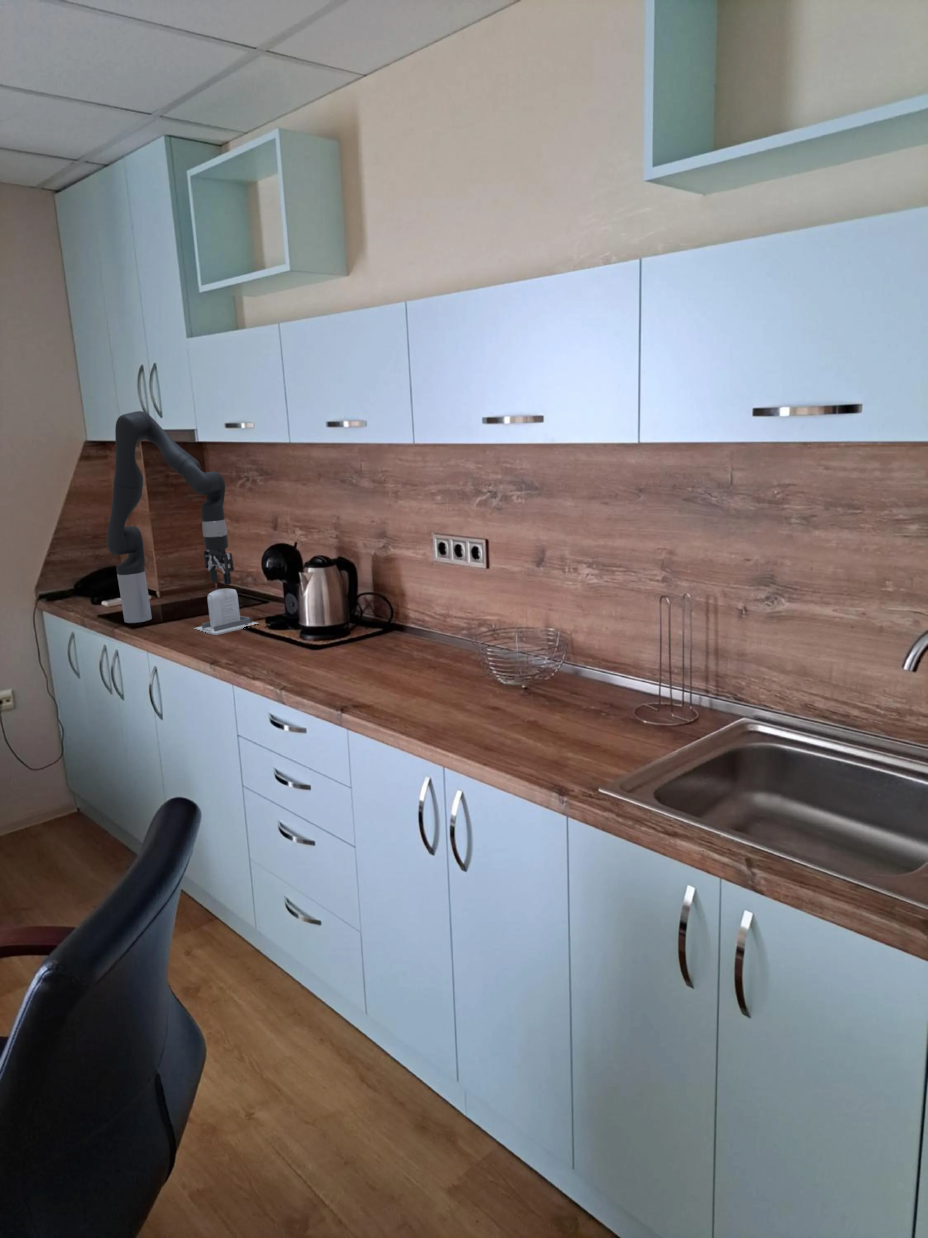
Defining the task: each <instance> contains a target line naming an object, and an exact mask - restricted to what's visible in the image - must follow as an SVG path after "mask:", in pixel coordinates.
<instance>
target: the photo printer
mask: <svg viewBox="0 0 928 1238" xmlns="http://www.w3.org/2000/svg"><path fill="white" fill-rule="evenodd" d="M206 598H207V599H206V600H207V606H208V616H209V622H210V625H211V628H214V626H218V625H223V624H227V623H231V622H235V621H240V616H241V613H240V605H239V597H238V593H237V590H236V589H234V588H225V587H224V588H219V589H216V590H213V591H211V592H210V593H208V594H207V597H206Z"/></svg>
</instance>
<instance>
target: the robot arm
mask: <svg viewBox="0 0 928 1238" xmlns="http://www.w3.org/2000/svg"><path fill="white" fill-rule="evenodd" d="M114 427H115V432H114V433H115V465H114V477H113V485H112V501H111V502H112V503H111V512H110V518H109V521H108V527H107V532H106V545H107V549H108V551H109V553H110V554H111V555H114V556H121V555H127V554H128V555H127V557H126V559H125V560H123V561H122V562H120V564H118V565H117V566H116V576H117V582H118V588H119V593H120V594H119V595H120V602H121V607H122V614H123V620H124V623H127V624H136V623H143V622H147V621H150V620H152V619H153V617H152V610H151V603H150V596H149V589H148V583H147V577H146V570H145V564H146V561H145V560H146V559H145V549H144V541H143V535H142V532H141V529H139V527H137V526H136V525H128V526H126V523H127V521H128V518H129V517H130V515H131V514H132V512H133V511H134V510H135V508H136V507H137V506H138V504H139V503H140V501H141V499H142V496H143V486H144V476H143V473H142V471H141V469H140V467H139V465H138V463H137V460H136V449H137V448H136V447H137V443H138V442H140V441H144V440H148V441H149V442H151V443H153V444H154V445H155V446H156V447H157V448H158V449H159V450H160V452H161V455H162V457H163V459H164V461H165V462H166V464H167V465H168V466H169V467H170V468H171V469H173V470H174V471H175V472H176V473H177V474H179V475H180V476H181V477H183V478H184V480H185V481H186V482H187V484H188V485H189V486H190V487H191V489H192V490H193V491H194V492H196V493H197V494H199V495H202V496H206V498H205V499H206V500H205V501H204V502H203V503H201V506H200V513H201V521H202V522H201V525H202V526H201V527H202V537H203V545H204V549H205V550H203V558H204V568H205V569H207V570H208V572H209V578H210V582H212V583H215V582H218V581H219V579H218V572H217V571H218V570H217V569H218V568H219V569H221V571H222V575H223V576H222V577H223V584H224V585H225V586H228V585H231V584H232V578H231V573H232V572H234V571H235V567H234V561H233V554H232V553H231V552H226V549H228V548H229V537H228V531H227V530H228V529H227V524H226V521H225V511H224V502H225V494H226V482H225V480H224V477H223V476H222V474H221V473H219V472H218V471H213V470H212V471H207V472H204V471H203V470H201V468H202V466H201V462H199V461H198V460H197V459H196V458H195V457H194V456H193V455H191V454H189V452H187V451H186V450H185V449H183V448H182V447H181V446H180V445H179V444H178V443H177V442H175V440H173V438H171V436H170V435H169V434H168V433H167V432H166V431H165V430H164V429H163V427H162V426H160V424H159V423H158V422H157V421H156V420H155V419H154V418H153V417H152V416H151V415H150V414H149V413H148V412H145V411H142V410H137V411H131V412H127V413H123V414H121V415H120V416H118V417H117V420H116V422H115V426H114ZM217 567H218V568H217Z"/></svg>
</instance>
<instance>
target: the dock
mask: <svg viewBox="0 0 928 1238" xmlns="http://www.w3.org/2000/svg"><path fill="white" fill-rule="evenodd" d="M245 624H248V625H245ZM254 624H259V622H254V621H253V618H251V617H249V616H243V615H240V621H235V622H231V623H227V624H223V625H218V626H214V628H211V625H210V621H207V622H203V623H201V626H197V627H194V628H193V630H194V629H197V630H200V631H199V632H201V631H203V632H202V633H205V632H206V633H205V634H209V635H213V636H219V635H222V634H227V633H231V632H235V631H239V630H243V628H244V627H246V626H250V625H254ZM259 625H260V624H259ZM244 629H245V628H244ZM197 630H196V631H197Z"/></svg>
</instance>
